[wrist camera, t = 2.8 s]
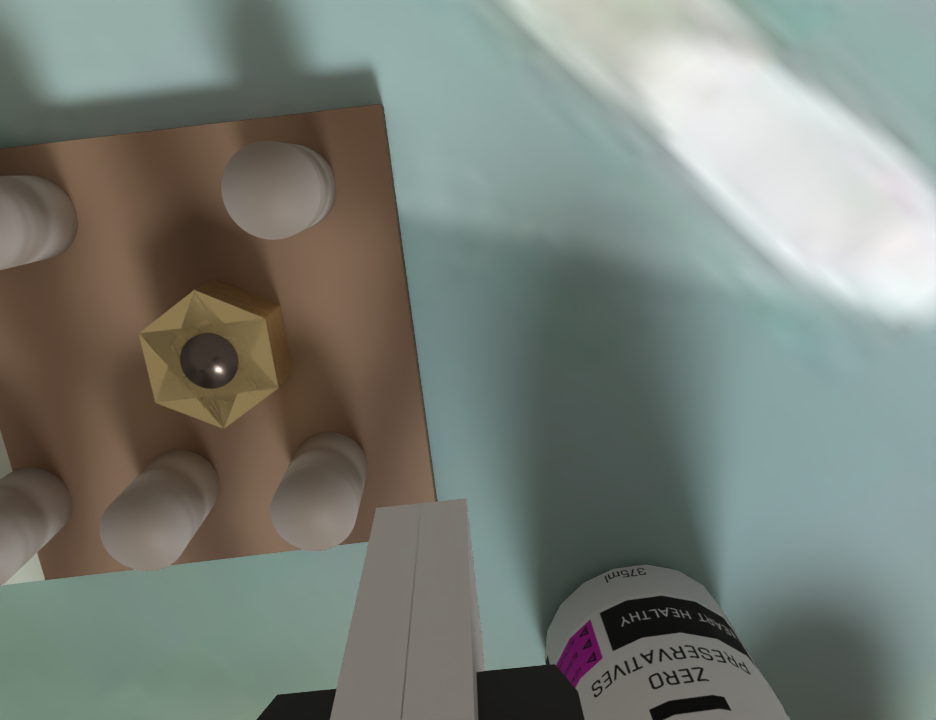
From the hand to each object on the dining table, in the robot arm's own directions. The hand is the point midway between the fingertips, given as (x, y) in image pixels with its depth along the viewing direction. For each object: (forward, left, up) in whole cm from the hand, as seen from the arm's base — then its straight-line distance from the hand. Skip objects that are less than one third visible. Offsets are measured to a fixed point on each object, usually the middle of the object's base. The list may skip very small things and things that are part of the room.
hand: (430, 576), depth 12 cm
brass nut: (-8, +1, -17) cm, 18 cm away
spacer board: (-12, 0, -18) cm, 21 cm away
